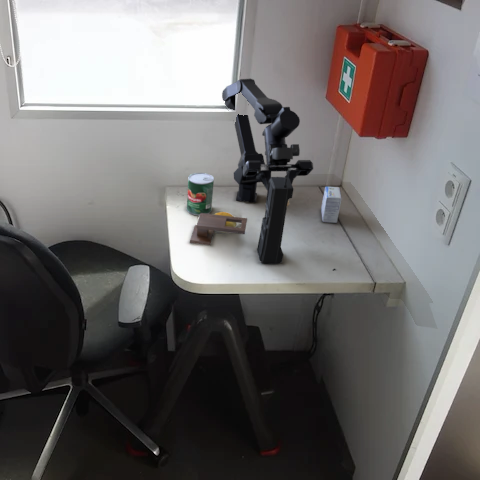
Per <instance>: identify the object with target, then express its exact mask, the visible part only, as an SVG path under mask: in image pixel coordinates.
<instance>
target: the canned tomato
mask: <svg viewBox="0 0 480 480" xmlns="http://www.w3.org/2000/svg"><path fill="white" fill-rule="evenodd" d="M187 179H188V180H187V197H186V211H187V213H189V214H190V215H193V216H200V213H206V214H211V212H212V206H213V196H214V195H213V194H214V180H215V178H214V176H213V175H211V174H209V173H205V172H194V173H191V174H190V175H188V177H187Z"/></svg>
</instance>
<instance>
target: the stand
mask: <svg viewBox="0 0 480 480" xmlns="http://www.w3.org/2000/svg"><path fill="white" fill-rule="evenodd" d="M215 214H216V213H214V214H213V213H209V214H206V213H200V215H198V219H197V223H196V224H194V225H193V226H194V227H193V229H192V233H191V236H190V239H189V244H195V245H202V246H203V245H205V246H212V243H213V238H214V234H215V232H214V231H222V232H229V233H230V234H239V235H246V229H247V225H248V224H247V223H248V218H247V217H241V216H234V217H232V216H223V215H215ZM226 221H227V222H236V223H237V224H240V227H238V226H236V227H229V226H225V225H226ZM213 230H214V231H213Z"/></svg>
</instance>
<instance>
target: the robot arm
mask: <svg viewBox="0 0 480 480" xmlns="http://www.w3.org/2000/svg"><path fill="white" fill-rule="evenodd" d="M240 92H241V93H242V95H243V96H244V97H245V98H246V99H247V101H248V102H249V104H250V106H251V107H252V108H253V110H254V114H253V116H254V119H255V120H256V122H257V124H258V125H266V126H265V128H264V129H263V131H262V134H261V136H262V137H264V148H265V150H264V155H265V159H264V155H263V153H261V152H260V153H258V151H257V150H256V145H255V141H254V136H253V132H252V131H253V130H252V127H251V122H250V118H249V114H248V115H244V116H243V115H239V114H238V115H237V117H236V122H235V124H234V128H235V132H236V139H237V143H238V147H239V152H240V158H239V160H238V163H237V168H236V169H235V171H233V180H234V181H235V182H236V184H237V185H238V191H236V197H235V201H238V202H246V203H254V204H255V203H256V202H257V197H258V192H257V186H258V183H261V184H262V185H263V187H264V188H265V189H266V192H267V191H268V184H269V179H271V177H272V172H286V175H285V176H284V177H285V178H289V179H290V181H291V184H292V185H293V182H294V179H296V178H297V177H306V176H308V175H309V174H310V173H311V172H312V171H313V170H314V162H312V160H311V159H298V160H297V161H296V162H295V163H291V164H288V163H290V162H291V160H294V157H300V151H301V150H300V143H293V144H290V145H289V146H290V147H289V146H288V144H287V142H286V138H287V137H289V136H290V135H291V134H293V132H294V131H295V130H296V129H297V128H298V127H299V126H300V122H301V119H300V116H299V115H298V114H297V113H296V112H295V111H294V110H291V107H290V106H283V104H282V103H281V102H280V101H278V100H277V99H274V98H273V99H272V98H269V97H268V96H267V95H266V94H265V93H264V92H263V91H262V90H261V88H260V87H259V86H258V85H257V84H256V81H255V79H253V78H240V79H237V81H236V82H234V83H231V84H229V85H226V86H225V88H224V89H223V90H222V92H221V97H222V101H223V102H224V101H225V103H224V106H225V105H226V106H227V107H228V108H230V109H233V110H235V95H236V94H238V93H240ZM226 106H225V107H226ZM265 161H266V162H265Z"/></svg>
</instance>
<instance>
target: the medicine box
mask: <svg viewBox="0 0 480 480" xmlns="http://www.w3.org/2000/svg"><path fill="white" fill-rule="evenodd" d="M341 203H342V193H341V189H340V187H339V186H327V185H326V186H325V188H324V192H323V197H322V202H321V206H320V207H321V208H320V211H321V221H322V223H330V224H332V223H333V224H337V223H338V220H339V214H340V209H341Z"/></svg>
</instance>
